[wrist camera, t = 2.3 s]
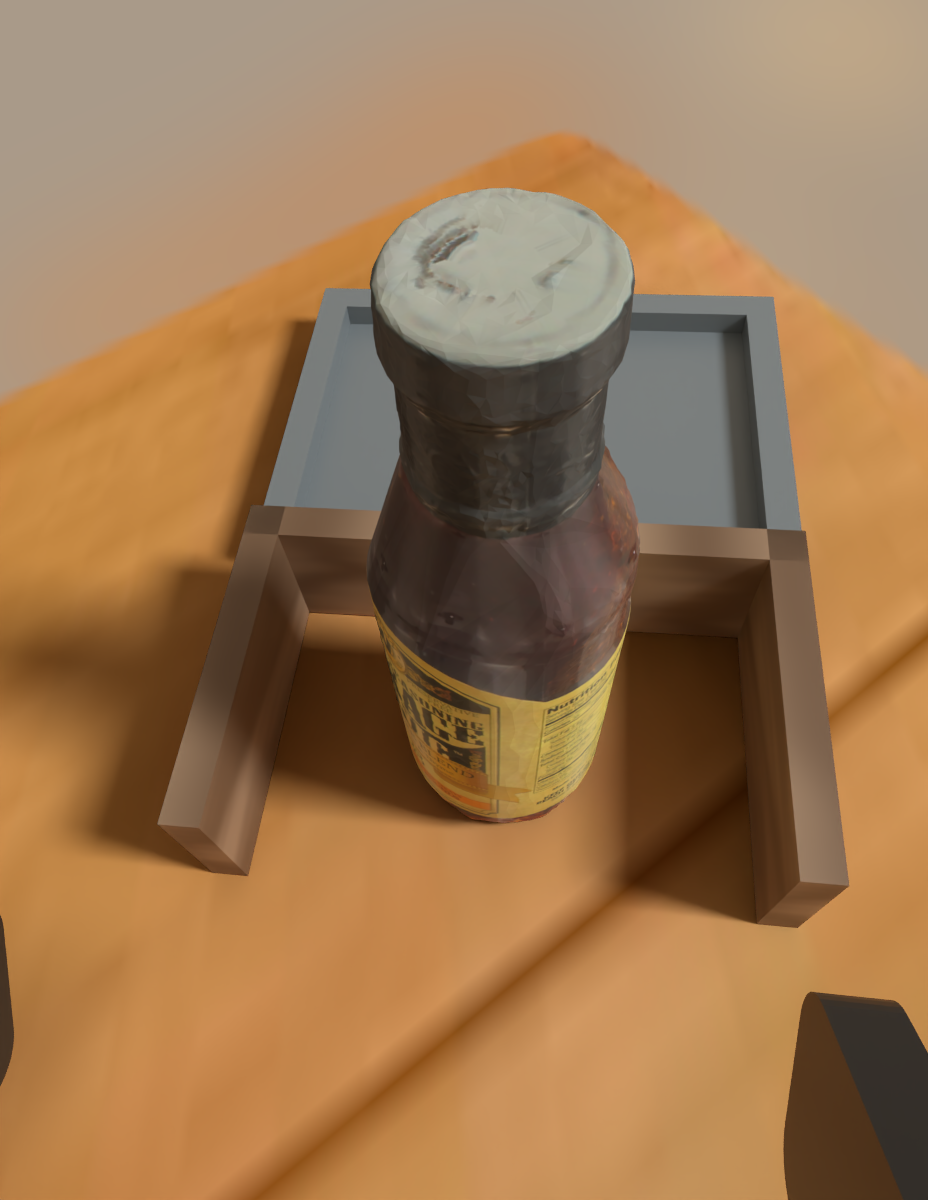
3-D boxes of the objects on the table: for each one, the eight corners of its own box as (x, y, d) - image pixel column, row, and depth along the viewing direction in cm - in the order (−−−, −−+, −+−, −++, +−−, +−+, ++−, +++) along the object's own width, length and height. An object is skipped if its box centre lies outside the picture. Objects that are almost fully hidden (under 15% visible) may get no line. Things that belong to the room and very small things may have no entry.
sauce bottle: (388, 706, 31) (226, 190, 14) (546, 640, 32) (567, 87, 15) (461, 876, 28) (361, 463, 11) (634, 796, 29) (785, 309, 12)
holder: (212, 872, 28) (156, 824, 24) (285, 584, 34) (251, 504, 30) (797, 927, 26) (849, 886, 22) (768, 611, 32) (805, 530, 28)
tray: (270, 566, 35) (255, 533, 33) (334, 326, 42) (325, 288, 40) (789, 594, 33) (805, 561, 31) (761, 336, 40) (773, 296, 38)
